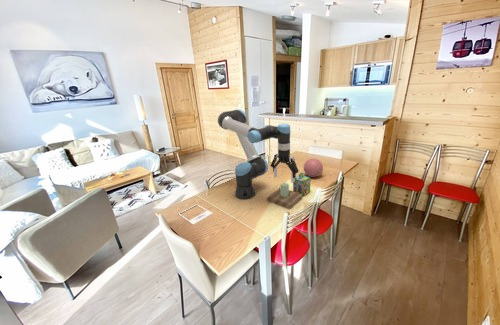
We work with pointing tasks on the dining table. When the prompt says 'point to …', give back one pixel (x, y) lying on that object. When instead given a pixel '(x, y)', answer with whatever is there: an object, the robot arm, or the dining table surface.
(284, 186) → the peg
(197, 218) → the photo frame
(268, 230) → the dining table surface
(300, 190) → the chalk box
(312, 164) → the pink ball
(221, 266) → the dining table surface
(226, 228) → the dining table surface
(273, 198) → the socket board
